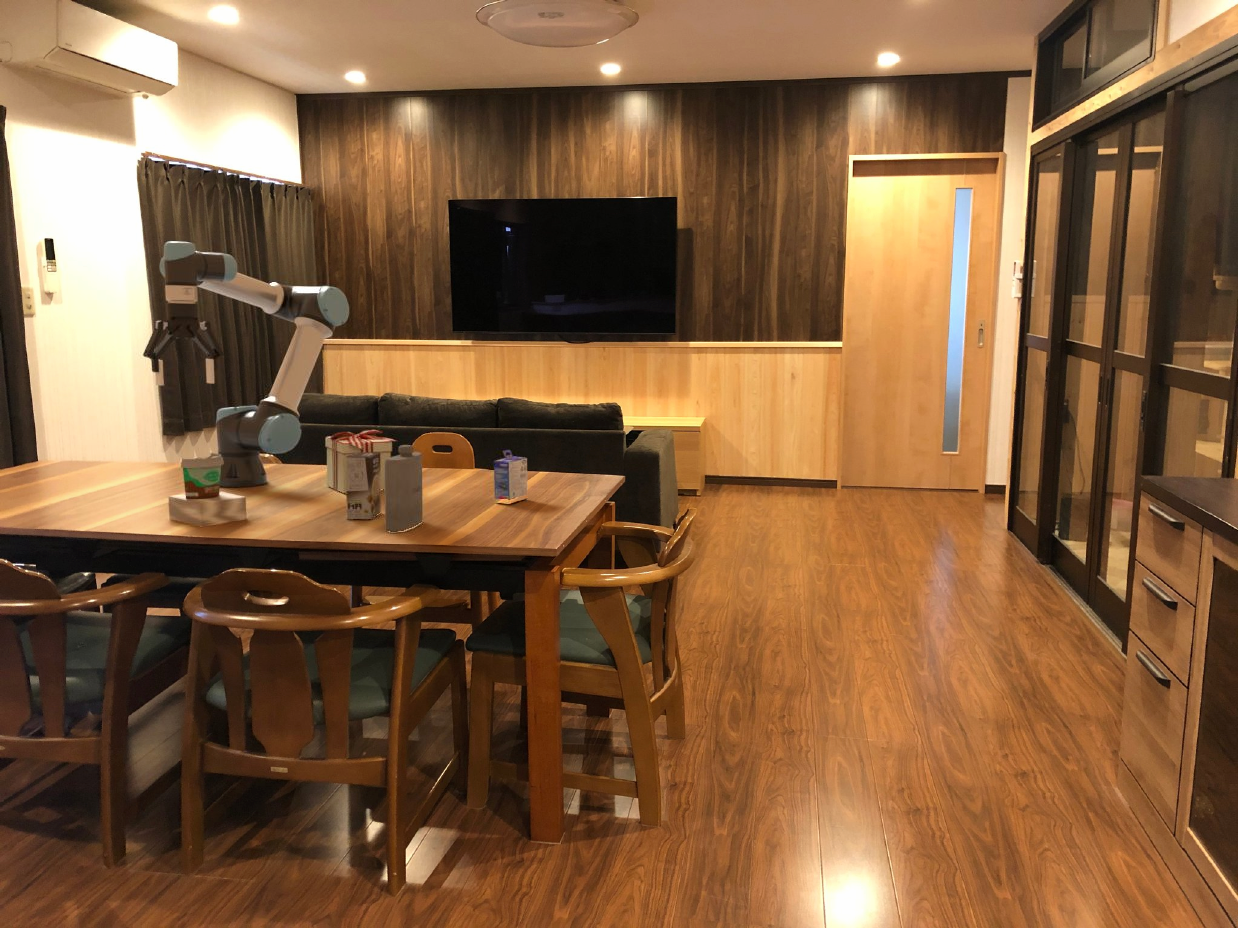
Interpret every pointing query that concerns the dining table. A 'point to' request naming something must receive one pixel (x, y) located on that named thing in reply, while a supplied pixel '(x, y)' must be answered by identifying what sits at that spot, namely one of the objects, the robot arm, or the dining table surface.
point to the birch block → (207, 509)
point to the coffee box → (363, 485)
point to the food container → (202, 476)
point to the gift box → (349, 445)
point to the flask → (403, 490)
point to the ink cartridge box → (510, 477)
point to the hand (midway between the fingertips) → (185, 384)
